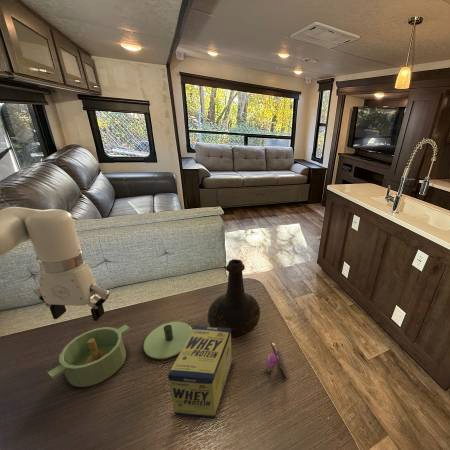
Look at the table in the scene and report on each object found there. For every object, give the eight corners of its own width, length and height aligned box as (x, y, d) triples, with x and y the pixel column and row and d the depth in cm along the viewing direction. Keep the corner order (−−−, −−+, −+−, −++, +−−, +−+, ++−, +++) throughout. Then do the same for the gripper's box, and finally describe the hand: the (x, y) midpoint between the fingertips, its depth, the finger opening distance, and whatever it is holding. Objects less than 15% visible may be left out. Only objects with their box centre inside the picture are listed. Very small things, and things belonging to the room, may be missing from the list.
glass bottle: (203, 319, 92) (197, 254, 81) (248, 304, 101) (249, 244, 90) (217, 356, 78) (213, 285, 67) (267, 334, 88) (271, 269, 77)
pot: (45, 379, 68) (36, 360, 65) (119, 332, 83) (114, 315, 80) (70, 406, 62) (61, 386, 59) (144, 350, 78) (140, 333, 75)
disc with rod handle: (83, 365, 72) (75, 343, 68) (103, 352, 76) (96, 330, 72) (93, 373, 70) (85, 351, 66) (112, 360, 74) (106, 338, 70)
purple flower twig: (282, 364, 71) (273, 340, 78) (266, 374, 69) (257, 348, 77) (288, 376, 74) (278, 352, 82) (272, 386, 73) (264, 360, 80)
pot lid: (134, 346, 79) (130, 333, 77) (174, 318, 91) (172, 305, 89) (164, 368, 73) (161, 354, 71) (202, 335, 85) (201, 322, 83)
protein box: (174, 416, 62) (166, 375, 56) (199, 361, 76) (195, 323, 70) (215, 420, 62) (212, 379, 56) (232, 364, 77) (231, 326, 70)
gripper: (6, 267, 54) (31, 325, 61) (89, 272, 56) (104, 328, 63) (38, 250, 61) (57, 304, 68) (111, 255, 63) (122, 308, 69)
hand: (79, 316), depth 65 cm, fingers open, 9 cm apart
